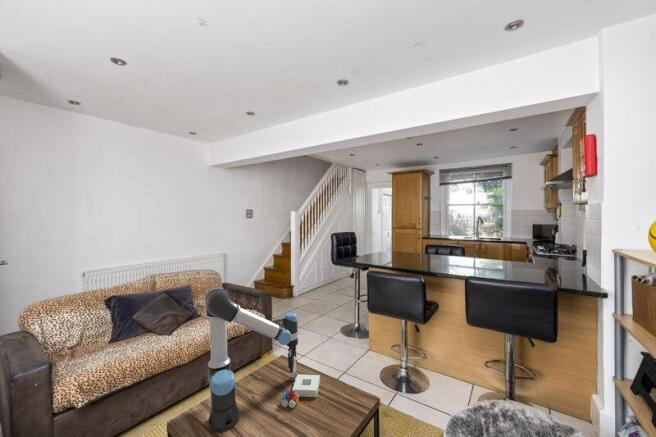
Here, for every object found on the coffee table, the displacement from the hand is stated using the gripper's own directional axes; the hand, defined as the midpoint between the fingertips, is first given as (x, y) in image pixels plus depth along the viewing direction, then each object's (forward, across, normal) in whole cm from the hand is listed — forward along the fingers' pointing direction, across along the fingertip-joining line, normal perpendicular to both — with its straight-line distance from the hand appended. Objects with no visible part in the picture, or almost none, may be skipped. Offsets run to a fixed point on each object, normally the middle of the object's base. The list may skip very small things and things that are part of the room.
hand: (292, 374), depth 173 cm
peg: (+3, 0, 0) cm, 3 cm away
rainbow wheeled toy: (+4, -20, -3) cm, 21 cm away
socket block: (+3, -8, -10) cm, 13 cm away
